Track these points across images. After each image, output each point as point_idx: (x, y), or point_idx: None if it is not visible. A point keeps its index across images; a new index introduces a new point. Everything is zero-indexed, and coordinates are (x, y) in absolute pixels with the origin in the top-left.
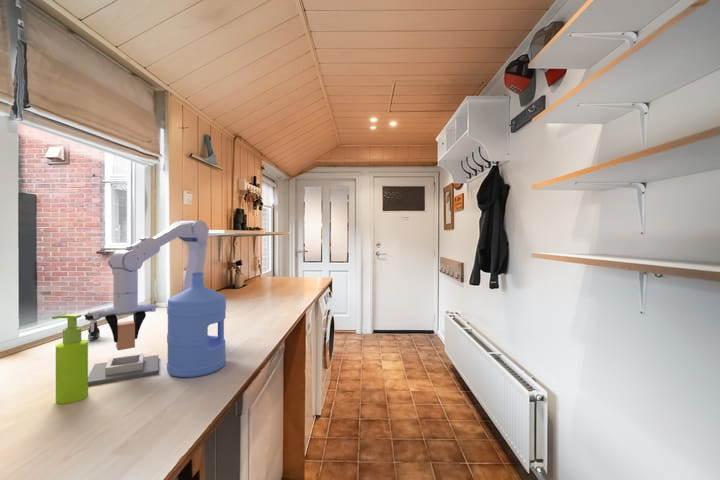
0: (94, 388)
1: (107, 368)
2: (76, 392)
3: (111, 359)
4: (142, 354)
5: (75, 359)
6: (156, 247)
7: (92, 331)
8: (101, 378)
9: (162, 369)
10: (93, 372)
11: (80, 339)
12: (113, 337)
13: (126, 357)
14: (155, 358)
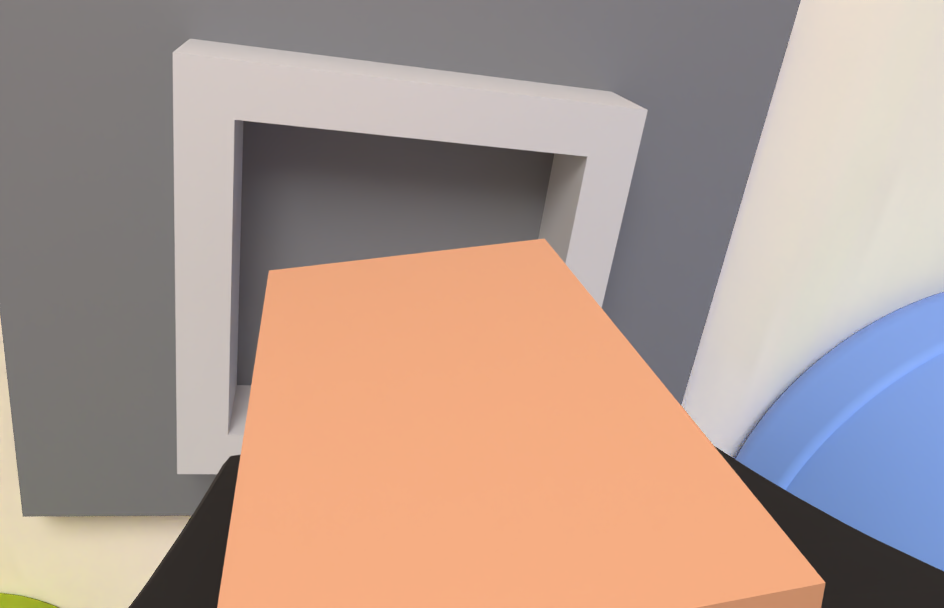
0: (135, 564)
1: (203, 468)
2: None
3: (214, 153)
4: (619, 160)
5: None
6: None
7: None
8: (166, 485)
9: (698, 396)
10: (32, 255)
11: None
12: (204, 503)
13: (415, 137)
14: (733, 122)
